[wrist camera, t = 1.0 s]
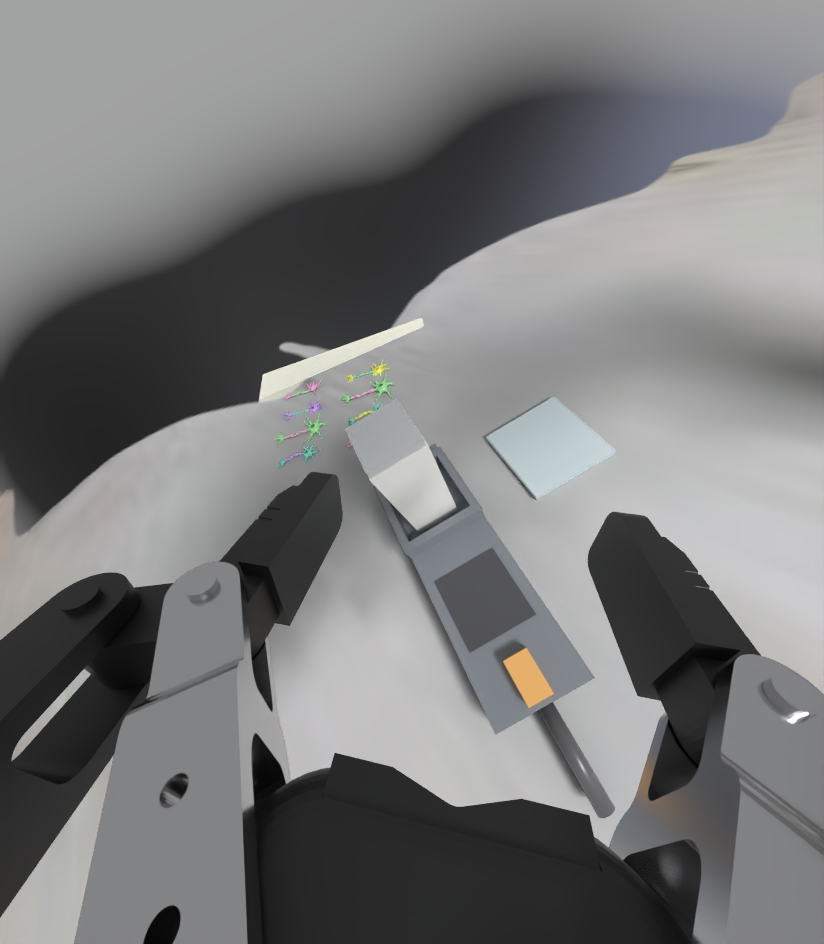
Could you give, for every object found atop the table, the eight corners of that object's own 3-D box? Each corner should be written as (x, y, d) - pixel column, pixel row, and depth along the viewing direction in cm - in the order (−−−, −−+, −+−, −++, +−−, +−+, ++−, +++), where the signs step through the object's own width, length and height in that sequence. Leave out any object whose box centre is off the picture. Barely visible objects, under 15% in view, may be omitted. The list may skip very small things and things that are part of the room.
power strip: (439, 454, 36) (430, 433, 32) (654, 772, 20) (687, 805, 16) (382, 489, 36) (366, 472, 32) (549, 831, 20) (557, 877, 16)
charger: (436, 476, 32) (397, 396, 21) (458, 510, 30) (425, 438, 19) (401, 498, 32) (343, 428, 21) (419, 532, 30) (364, 475, 19)
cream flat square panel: (422, 319, 49) (420, 311, 48) (460, 482, 35) (458, 476, 33) (264, 375, 55) (258, 369, 54) (240, 535, 40) (231, 533, 39)
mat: (553, 399, 35) (554, 396, 34) (614, 453, 30) (616, 450, 30) (486, 439, 35) (486, 436, 35) (536, 499, 30) (536, 497, 30)
